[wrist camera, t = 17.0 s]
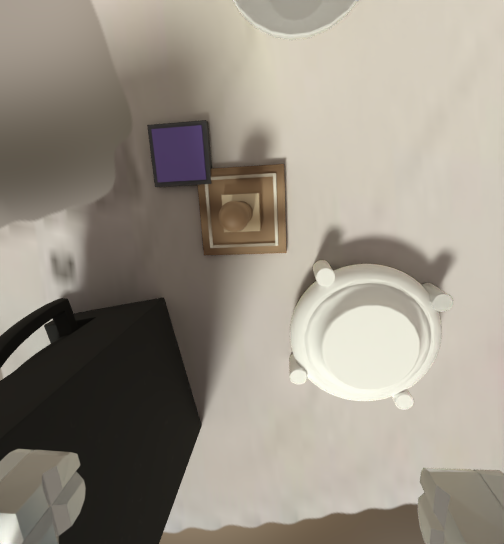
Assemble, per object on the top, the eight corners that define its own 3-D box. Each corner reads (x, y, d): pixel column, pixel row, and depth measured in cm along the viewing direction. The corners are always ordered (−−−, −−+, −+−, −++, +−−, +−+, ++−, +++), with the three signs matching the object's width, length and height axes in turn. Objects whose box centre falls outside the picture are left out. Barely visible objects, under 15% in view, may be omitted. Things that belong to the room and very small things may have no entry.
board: (197, 169, 44) (195, 169, 43) (284, 164, 42) (283, 163, 41) (205, 254, 47) (203, 255, 46) (286, 251, 45) (286, 253, 44)
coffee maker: (48, 293, 51) (-407, 489, 18) (158, 272, 48) (-136, 458, 15) (102, 436, 58) (-157, 783, 24) (203, 425, 55) (69, 804, 21)
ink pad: (151, 126, 43) (146, 124, 42) (208, 122, 42) (205, 119, 41) (158, 187, 45) (154, 187, 44) (212, 184, 44) (210, 183, 43)
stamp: (223, 195, 44) (207, 195, 35) (259, 193, 43) (252, 193, 34) (226, 230, 45) (211, 240, 36) (261, 229, 44) (254, 239, 35)
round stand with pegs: (471, 351, 47) (503, 379, 40) (329, 418, 52) (335, 452, 45) (393, 214, 43) (413, 219, 36) (248, 301, 48) (242, 319, 41)
